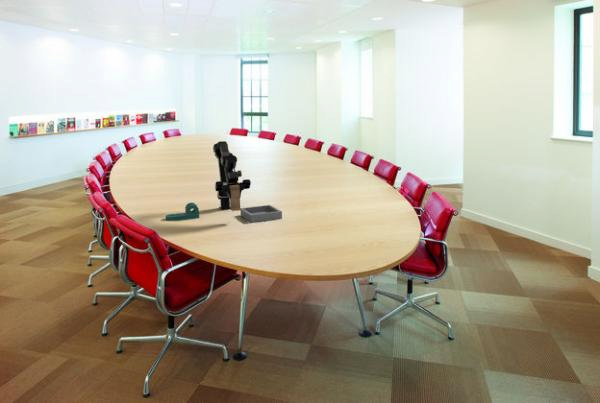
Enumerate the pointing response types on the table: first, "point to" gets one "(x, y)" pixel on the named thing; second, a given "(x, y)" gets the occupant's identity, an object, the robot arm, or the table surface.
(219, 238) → the table surface
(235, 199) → the brown tall block
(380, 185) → the table surface
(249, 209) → the box
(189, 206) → the bracket
